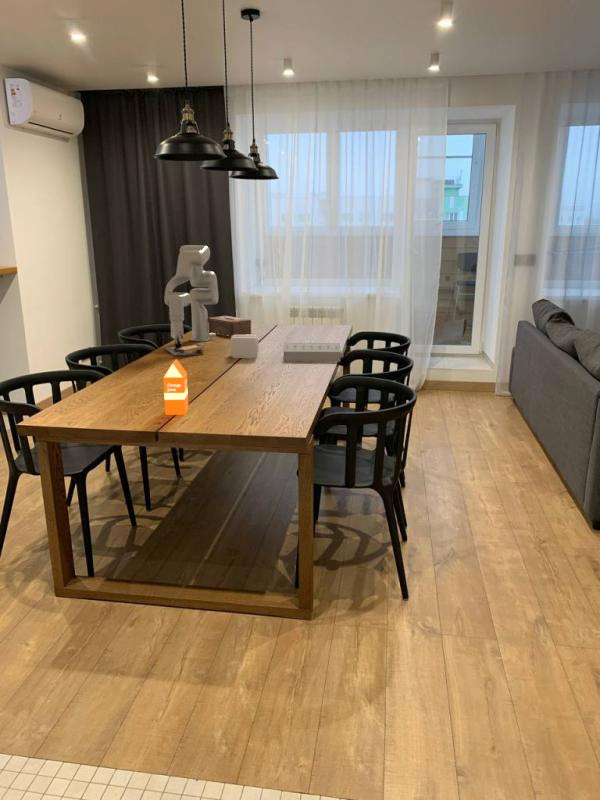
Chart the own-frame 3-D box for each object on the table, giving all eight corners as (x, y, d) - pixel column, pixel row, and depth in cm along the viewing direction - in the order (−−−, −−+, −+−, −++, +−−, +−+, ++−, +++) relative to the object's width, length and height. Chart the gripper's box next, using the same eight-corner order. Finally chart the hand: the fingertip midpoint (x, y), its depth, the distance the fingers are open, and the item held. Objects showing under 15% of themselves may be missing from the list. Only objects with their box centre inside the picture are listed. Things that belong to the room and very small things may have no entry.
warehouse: (283, 362, 330) (283, 348, 328) (284, 356, 343) (284, 342, 341) (340, 362, 329) (340, 348, 327) (339, 356, 343) (339, 343, 341)
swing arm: (198, 346, 352) (198, 343, 351) (206, 348, 348) (206, 344, 348) (174, 351, 339) (173, 347, 338) (182, 353, 335) (181, 349, 334)
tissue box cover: (251, 335, 406) (250, 319, 404) (234, 337, 396) (233, 322, 394) (226, 330, 424) (225, 315, 421) (208, 332, 414) (208, 317, 411)
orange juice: (188, 408, 247) (186, 358, 241) (185, 414, 238) (183, 363, 233) (168, 408, 246) (166, 358, 241) (164, 414, 238) (161, 363, 232)
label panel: (195, 346, 366) (194, 342, 365) (206, 354, 345) (206, 350, 344) (164, 349, 359) (164, 345, 358) (174, 357, 338) (174, 352, 337)
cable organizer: (229, 359, 335) (228, 337, 332) (231, 355, 345) (231, 334, 342) (257, 359, 335) (257, 337, 331) (258, 355, 345) (258, 334, 342)
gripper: (166, 315, 343) (168, 348, 348) (173, 320, 330) (175, 354, 335) (180, 315, 346) (182, 347, 351) (187, 319, 333) (188, 352, 338)
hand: (178, 350), depth 343 cm, fingers closed
